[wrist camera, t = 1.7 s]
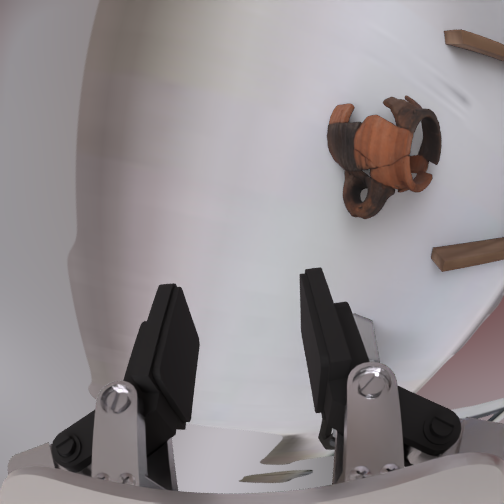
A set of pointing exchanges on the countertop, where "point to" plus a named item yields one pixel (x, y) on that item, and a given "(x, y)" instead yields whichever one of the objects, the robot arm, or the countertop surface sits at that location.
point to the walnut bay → (485, 249)
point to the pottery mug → (382, 153)
